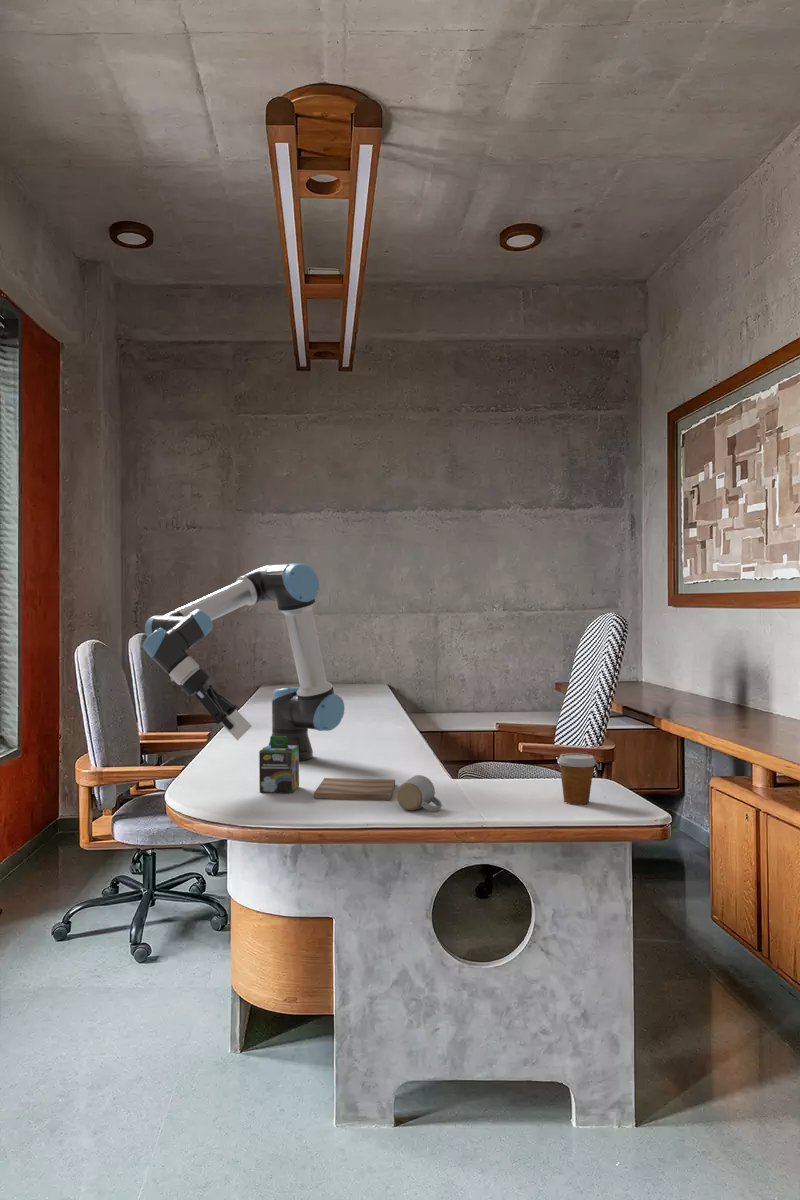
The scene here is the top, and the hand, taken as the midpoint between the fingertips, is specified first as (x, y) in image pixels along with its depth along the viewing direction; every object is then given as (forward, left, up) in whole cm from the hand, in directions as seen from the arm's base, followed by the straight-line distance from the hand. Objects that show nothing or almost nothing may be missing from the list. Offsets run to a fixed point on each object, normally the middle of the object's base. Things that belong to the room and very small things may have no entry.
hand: (245, 733), depth 242 cm
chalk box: (-1, +9, -16) cm, 18 cm away
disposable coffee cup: (+6, +88, -16) cm, 90 cm away
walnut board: (-1, +30, -15) cm, 34 cm away
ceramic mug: (+17, +48, -16) cm, 53 cm away
